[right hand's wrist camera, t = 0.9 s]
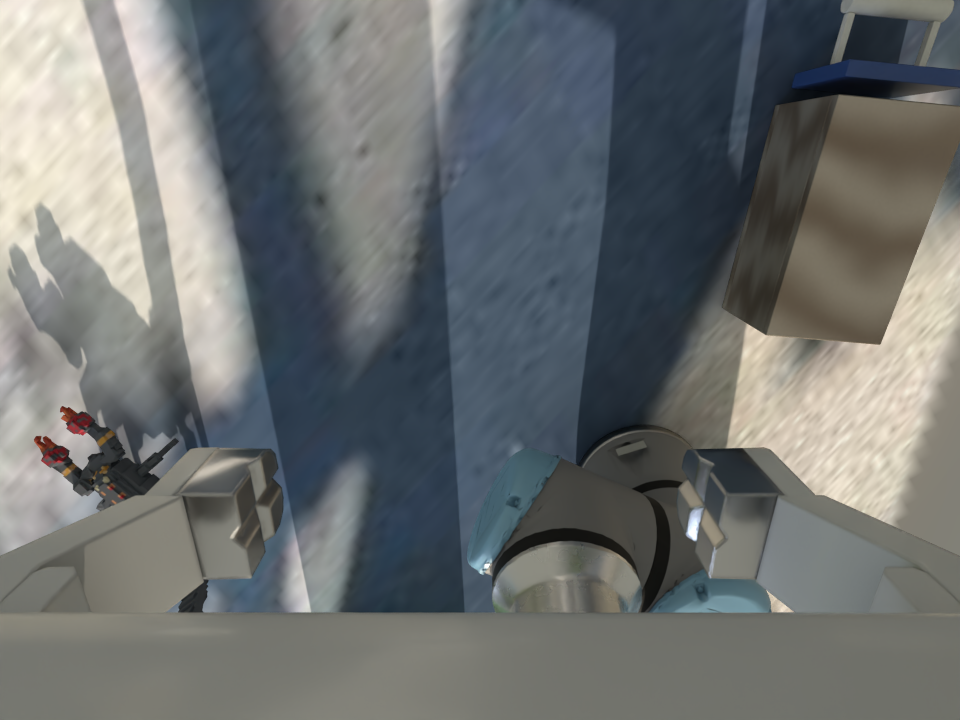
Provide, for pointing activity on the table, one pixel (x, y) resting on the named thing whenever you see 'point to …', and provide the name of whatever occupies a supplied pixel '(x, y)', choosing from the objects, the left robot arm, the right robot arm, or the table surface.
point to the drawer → (881, 78)
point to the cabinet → (839, 215)
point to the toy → (110, 476)
